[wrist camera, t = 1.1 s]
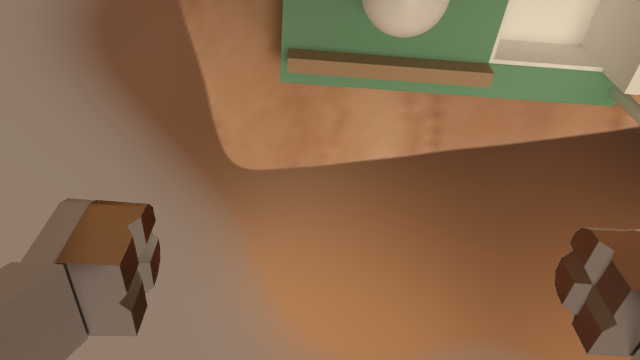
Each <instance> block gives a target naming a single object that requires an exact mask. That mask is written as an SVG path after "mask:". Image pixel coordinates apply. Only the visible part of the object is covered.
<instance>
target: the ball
mask: <svg viewBox="0 0 640 360" xmlns="http://www.w3.org/2000/svg"><path fill="white" fill-rule="evenodd" d="M449 1H450V0H362V4H363V7H364V10H365V13H366V15H367V17H368V18H369V20H370V21H371V22H372V24H373V25H374V26H375V27H376V28H378V29H379V30H380V31H382V32H383V33H386V34H388V35H391V36H394V37H400V38H407V37H413V36H417V35H420V34H422V33H424V32H426V31H428V30H429V29H431V28H432V27H433V26H434V25H435V24H436V23H437V22H438V21H439V20H440V19H441V17H442V16H443V14H444V13H445V11H446V9H447V7H448V4H449Z"/></svg>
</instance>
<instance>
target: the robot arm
mask: <svg viewBox="0 0 640 360" xmlns="http://www.w3.org/2000/svg"><path fill="white" fill-rule="evenodd" d="M155 221H156V219H155V215H154V210H153V207H152V206H151V205H150V204H142V203H128V202H116V201H103V200H95V201H94V200H83V199H70V198H67V199H66V200H64V201H62V202H61V203H60V204H59V205H58V207H57V208H56V210H55V211H54V213H53V214H52V216H51V217H50V219H49V220H48V222H47V223H46V225H45V226H44V228H43V229H42V231H41V232H40V234H39V235H38V237H37V238H36V240H35V241H34V243H33V244H32V246H31V247H30V249H29V250H28V252H27V253H26V255H25V256H24V258H23V259H22V261H21V262H11V263H9V264H7V265H6V266H4V267H2V268H0V360H65V359H67V358H68V357H69V356H70V355H71V354H72V353H73V352H74V351H75V350H76V349H77V348H78V347H79V346H81V344H83V343H84V342H85V341H86V340H87V339H88V336H137V334H138V331H139V329H140V326H141V323H142V320H143V317H144V314H145V312H146V309H147V301H146V296H145V293H147V292H148V291H149V290H150V289H152V288H153V287H154V285H155V282H156V279H157V276H158V271H159V265H160V243H159V238H158V237H157V236H156V235H155V234H153V232H152V229H153V226H154V224H155ZM570 244H571V246H572V249H573V251H572V252H570V253H569V254H567V255H565V256H564V257H562V258H561V260H560V262H559V264H558V266H557V268H556V270H555V287H556V292H557V295H558V297H559V299H560V301H561V303H562V305H563V306H564V307H565V308H567V309H568V310H569V311H571V312H572V313H573V314H574V319H573V322H572V325H573V327H574V329H575V331H576V333H577V335H578V337H579V339H580V341H581V343H582V345H583V347H584V349H585V351H586V352H587V354H595V355H609V356H626V357H632V358H631V360H640V229H633V230H628V229H608V228H587V227H582V228H580V229H579V230H578V231H576V232H575V234H574V236H573V237H572V239H571V241H570Z"/></svg>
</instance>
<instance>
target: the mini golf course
mask: <svg viewBox="0 0 640 360" xmlns="http://www.w3.org/2000/svg"><path fill="white" fill-rule="evenodd" d="M280 82H288V83H301V84H315V85H328V86H342V87H356V88H369V89H383V90H397V91H410V92H424V93H437V94H451V95H465V96H478V97H492V98H506V99H519V100H533V101H546V102H560V103H574V104H587V105H601V106H614V105H615V103H616V101H617V102H618V103H619V104H620V105H621V106H622V107H623V108H624V109H625V110H626V111H627V112H628V114H629V115H630V116H631V117H632V118H633V119H634V120H635V121H636V122H637V123H638V124H639V125H640V105H639V104H638V103H637V102H636V101H635V100H634V99H633V98H632V97H631V96H630V95H629V94H634V95H639V94H640V0H450V1H449V4H448V7H447V9H446V11H445V13H444V14H443V16H442V17H441V19H440V20H439V21H438V22H437V23H436V24H435V25H434V26H433V27H432V28H431V29H429V30H428V31H426V32H424V33H422V34H420V35H417V36H413V37H407V38H400V37H394V36H391V35H388V34H386V33H383V32H382V31H380V30H379V29H378V28H376V27H375V26H374V25H373V24H372V22H371V21H370V20H369V18H368V17H367V15H366V13H365V10H364V7H363V4H362V0H283V11H282V39H281V68H280Z"/></svg>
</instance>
